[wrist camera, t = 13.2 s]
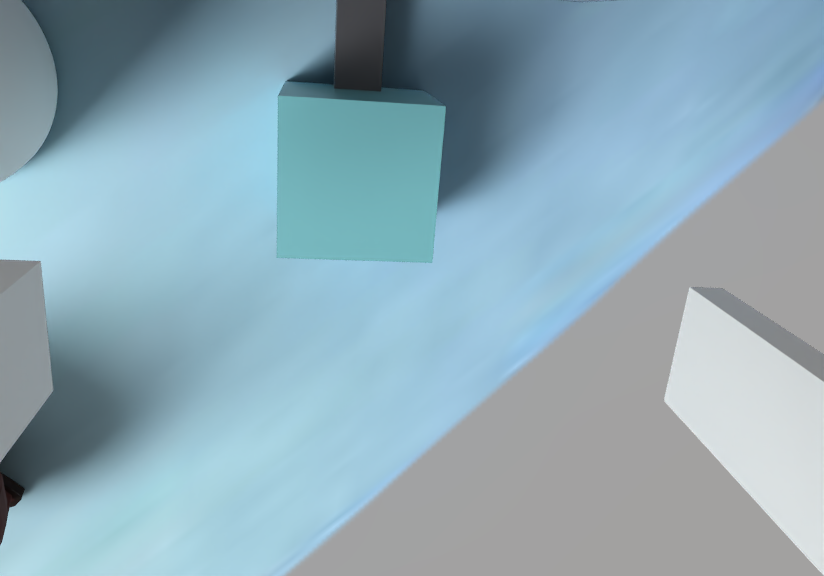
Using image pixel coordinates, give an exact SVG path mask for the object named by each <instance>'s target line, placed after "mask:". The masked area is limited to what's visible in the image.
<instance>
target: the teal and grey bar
mask: <svg viewBox="0 0 824 576" xmlns="http://www.w3.org/2000/svg"><path fill="white" fill-rule="evenodd" d="M385 15H386V0H336V26H335V55H334V84H321V83H305V82H290V81H286V82H285V84H284V85H283V87H282V89H281V91H280V93H279V95H278V164H277V258H299V259H330V260H361V261H392V262H423V263H432V260H433V248H434V237H435V226H436V215H437V203H438V192H439V181H440V169H441V158H442V147H443V135H444V124H445V113H446V106H445V105H444V104H442V103H441V102H439V101H438V100H437V99H435V98H434V97H432V96H431V95H430V94H428V93H427V92H425V91H424V90H411V89H396V88H381V85H382V67H383V50H384V32H385Z"/></svg>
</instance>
